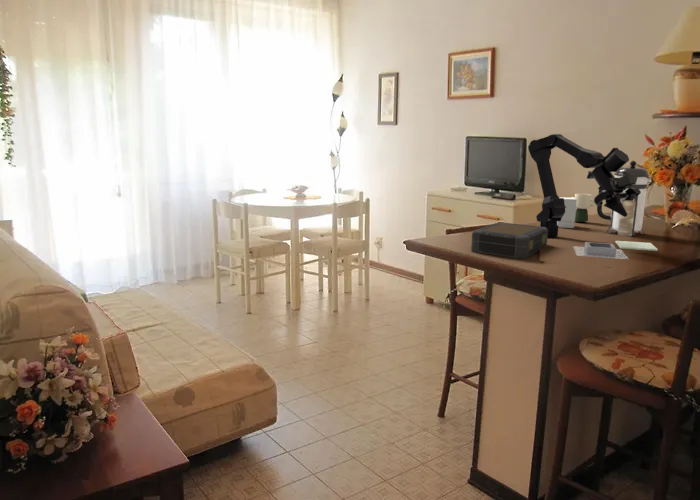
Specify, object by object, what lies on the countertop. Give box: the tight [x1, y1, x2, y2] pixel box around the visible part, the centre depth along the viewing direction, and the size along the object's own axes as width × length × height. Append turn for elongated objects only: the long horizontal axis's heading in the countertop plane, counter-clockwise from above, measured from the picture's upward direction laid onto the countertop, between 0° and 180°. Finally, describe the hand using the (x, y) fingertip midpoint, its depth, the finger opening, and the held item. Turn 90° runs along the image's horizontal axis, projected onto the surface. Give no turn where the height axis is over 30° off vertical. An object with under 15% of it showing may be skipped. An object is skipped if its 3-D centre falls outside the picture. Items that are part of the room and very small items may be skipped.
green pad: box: [615, 240, 658, 252], centre depth 211 cm, size 12×12×2 cm
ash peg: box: [617, 200, 636, 237], centre depth 201 cm, size 4×4×12 cm
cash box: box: [470, 221, 548, 260], centre depth 207 cm, size 25×20×8 cm
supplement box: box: [557, 196, 577, 229], centre depth 255 cm, size 7×7×13 cm
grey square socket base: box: [572, 241, 629, 260], centre depth 199 cm, size 16×16×4 cm
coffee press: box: [596, 160, 652, 238], centre depth 239 cm, size 17×16×30 cm
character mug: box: [570, 192, 596, 223], centre depth 267 cm, size 11×7×13 cm, turn 47°
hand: (630, 215), depth 200 cm, fingers closed on ash peg, 4 cm apart
